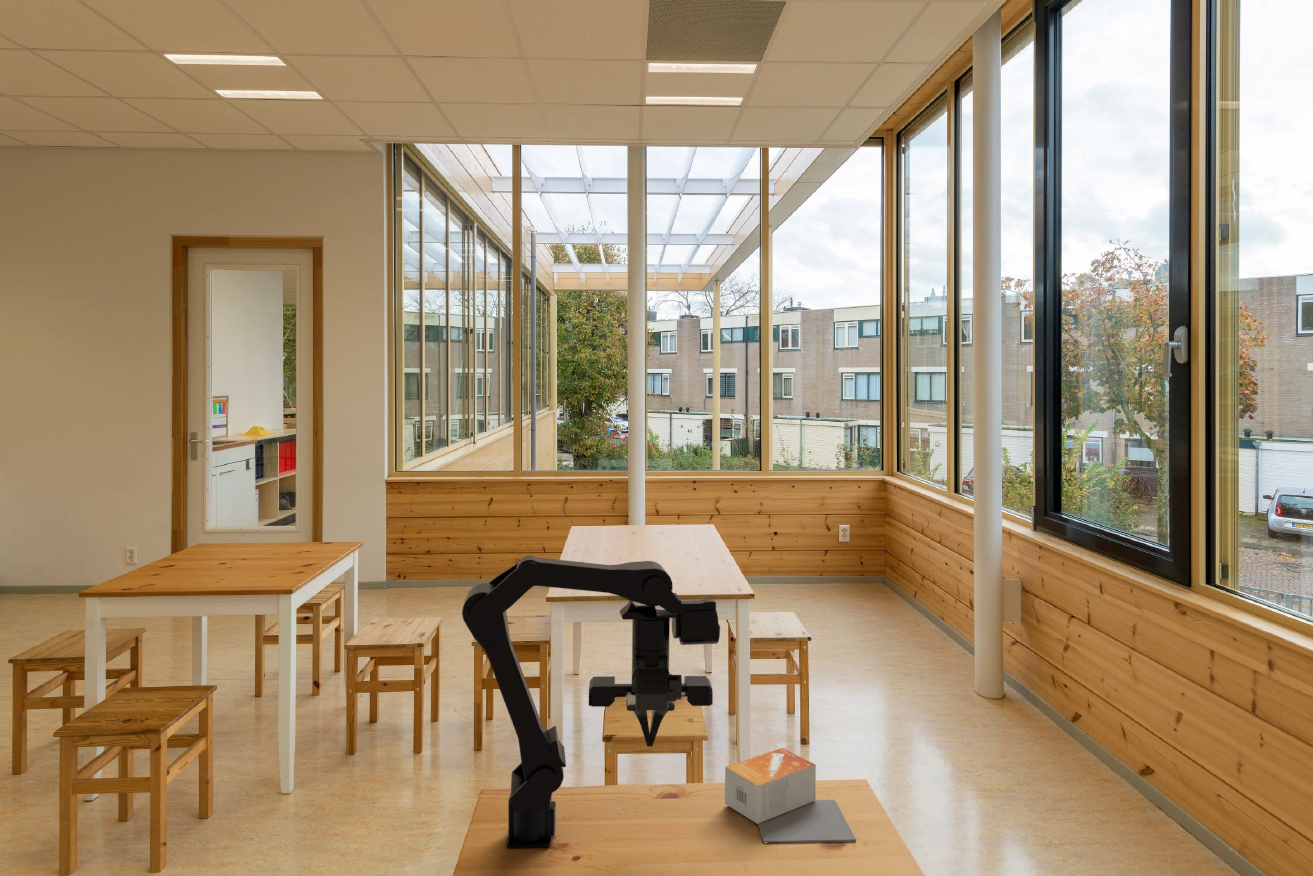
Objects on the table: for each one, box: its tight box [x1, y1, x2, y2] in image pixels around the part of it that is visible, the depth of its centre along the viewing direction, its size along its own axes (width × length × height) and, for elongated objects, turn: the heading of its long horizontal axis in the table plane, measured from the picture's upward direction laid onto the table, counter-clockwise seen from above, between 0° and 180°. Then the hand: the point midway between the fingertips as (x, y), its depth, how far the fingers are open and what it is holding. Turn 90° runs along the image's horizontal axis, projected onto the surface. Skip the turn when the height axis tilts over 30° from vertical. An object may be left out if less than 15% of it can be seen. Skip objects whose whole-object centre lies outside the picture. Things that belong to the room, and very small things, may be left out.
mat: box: [757, 799, 857, 844], centre depth 126 cm, size 14×12×1 cm
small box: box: [724, 747, 817, 825], centre depth 131 cm, size 8×6×13 cm
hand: (649, 745), depth 123 cm, fingers closed
